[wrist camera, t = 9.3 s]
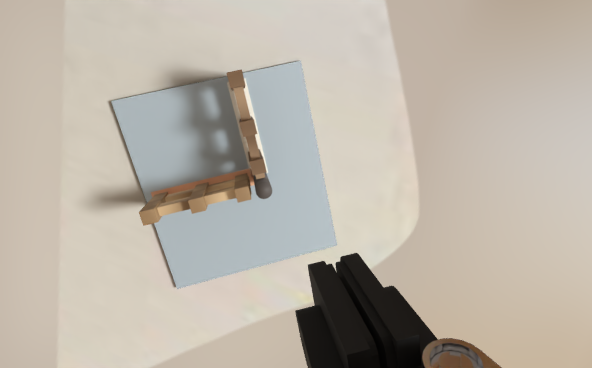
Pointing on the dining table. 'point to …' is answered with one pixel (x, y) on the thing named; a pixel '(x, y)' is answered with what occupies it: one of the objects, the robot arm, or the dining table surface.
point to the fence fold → (196, 198)
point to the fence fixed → (250, 136)
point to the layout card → (231, 171)
